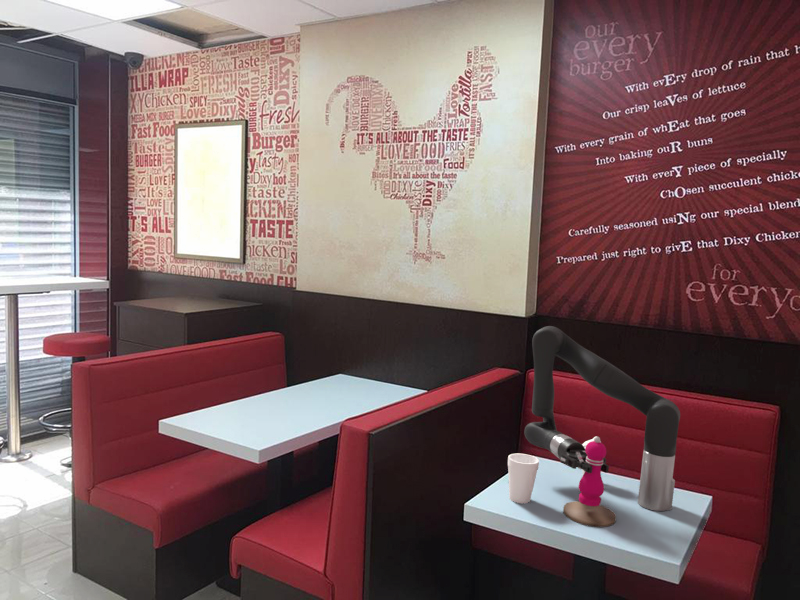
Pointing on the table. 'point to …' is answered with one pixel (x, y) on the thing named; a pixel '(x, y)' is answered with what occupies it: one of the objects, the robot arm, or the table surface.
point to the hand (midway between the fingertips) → (599, 469)
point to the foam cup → (521, 476)
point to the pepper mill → (593, 474)
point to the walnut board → (589, 514)
